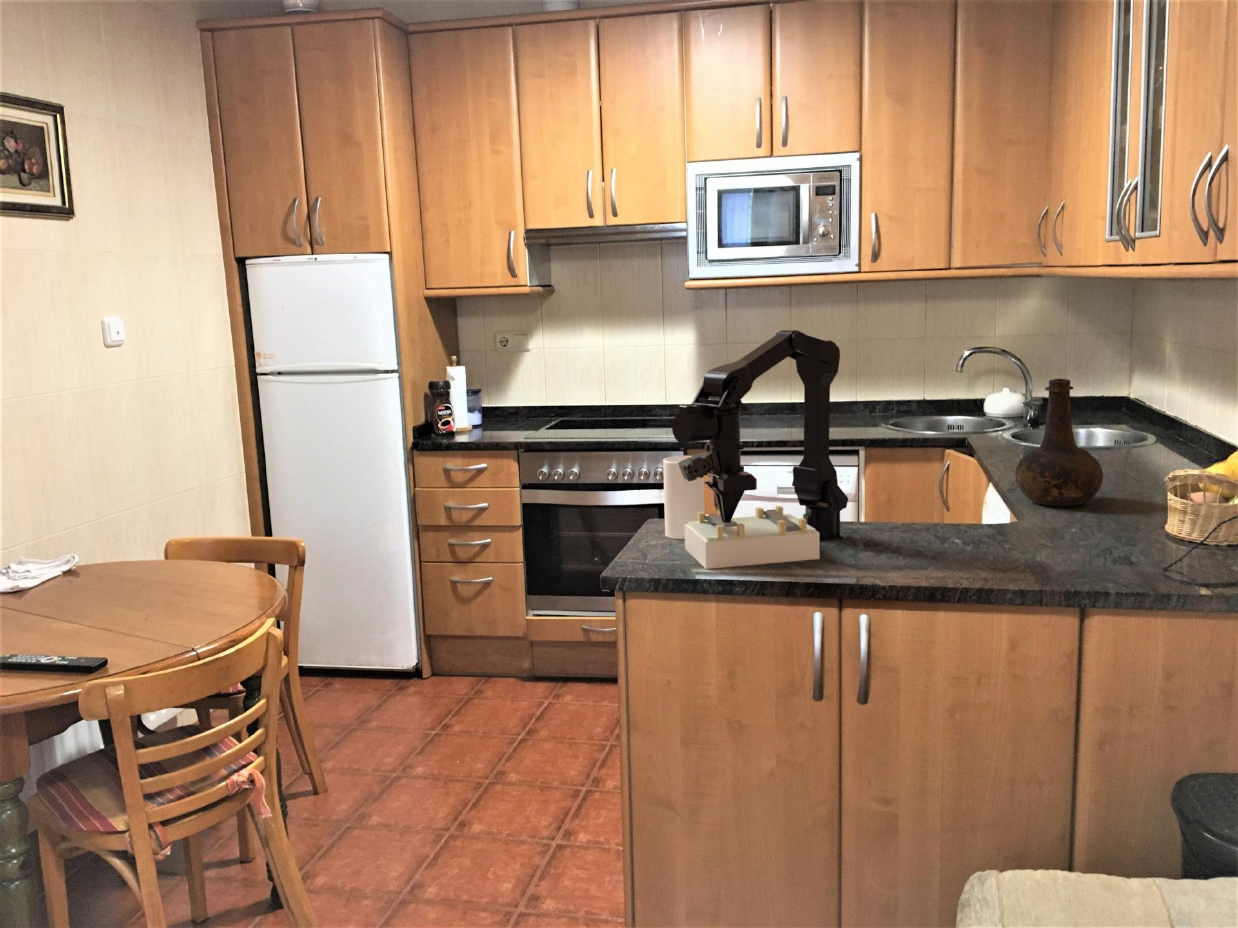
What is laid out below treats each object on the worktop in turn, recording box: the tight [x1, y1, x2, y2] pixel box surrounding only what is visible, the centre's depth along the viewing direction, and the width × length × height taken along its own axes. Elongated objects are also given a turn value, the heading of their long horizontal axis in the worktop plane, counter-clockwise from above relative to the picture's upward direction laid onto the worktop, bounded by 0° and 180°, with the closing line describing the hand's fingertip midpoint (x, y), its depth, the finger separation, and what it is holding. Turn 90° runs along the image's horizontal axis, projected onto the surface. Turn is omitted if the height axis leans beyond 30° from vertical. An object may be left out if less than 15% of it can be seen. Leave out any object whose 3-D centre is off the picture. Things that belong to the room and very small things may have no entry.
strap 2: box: [763, 508, 799, 531], centre depth 195 cm, size 14×2×1 cm, turn 11°
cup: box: [662, 455, 705, 540], centre depth 211 cm, size 8×8×16 cm
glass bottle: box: [1014, 378, 1104, 508], centre depth 227 cm, size 18×18×28 cm
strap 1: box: [704, 513, 737, 527], centre depth 193 cm, size 14×2×1 cm, turn 11°
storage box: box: [684, 505, 820, 570], centre depth 194 cm, size 22×15×8 cm
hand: (726, 521), depth 189 cm, fingers closed, pressing on strap 1
